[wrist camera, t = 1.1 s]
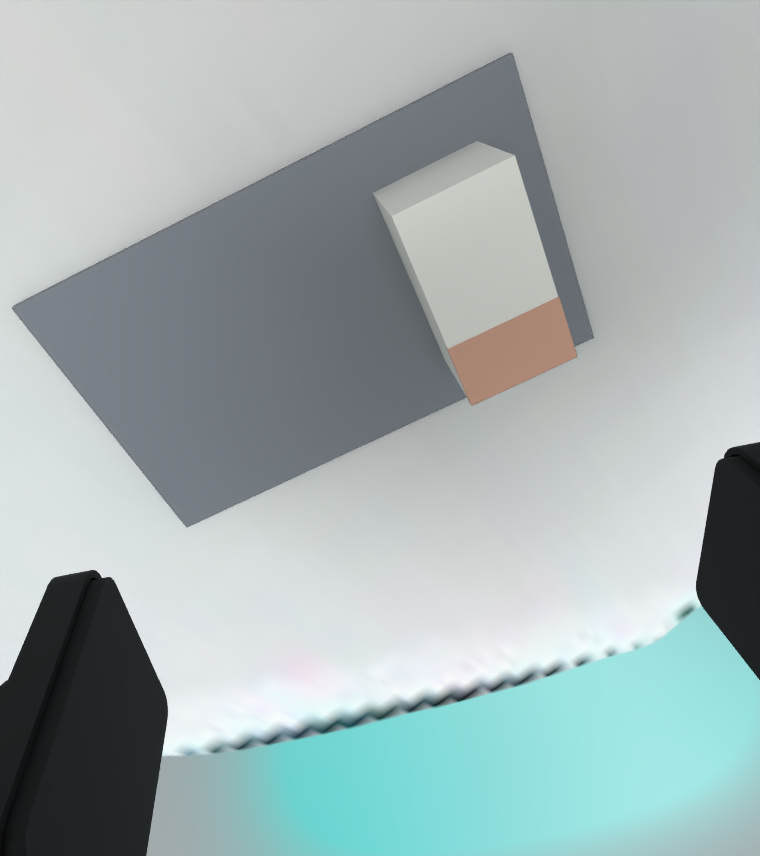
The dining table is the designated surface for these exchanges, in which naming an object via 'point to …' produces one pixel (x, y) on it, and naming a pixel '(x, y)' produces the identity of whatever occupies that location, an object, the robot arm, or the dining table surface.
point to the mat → (285, 309)
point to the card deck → (479, 268)
